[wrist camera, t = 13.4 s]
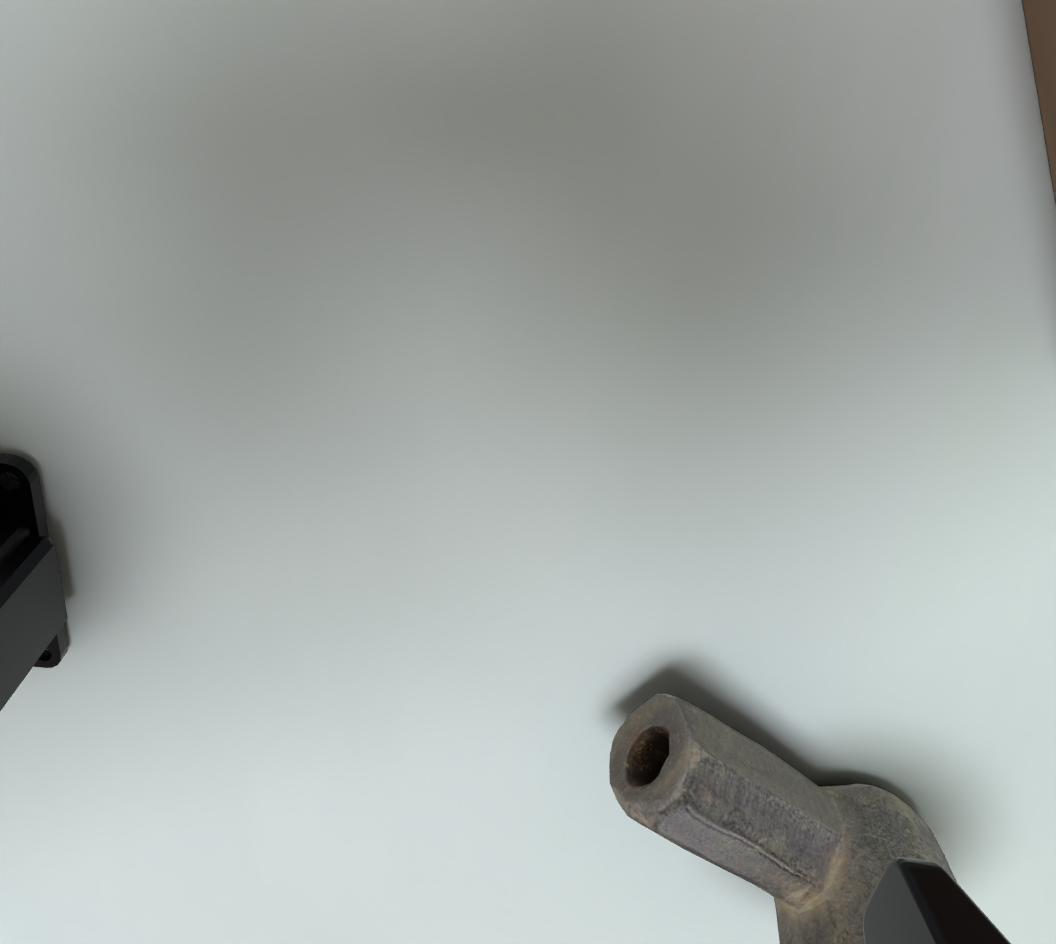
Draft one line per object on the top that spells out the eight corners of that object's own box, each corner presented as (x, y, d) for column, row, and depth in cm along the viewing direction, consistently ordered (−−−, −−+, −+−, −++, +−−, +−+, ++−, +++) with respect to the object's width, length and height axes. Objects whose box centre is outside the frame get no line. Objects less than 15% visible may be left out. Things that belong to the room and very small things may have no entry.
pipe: (710, 623, 24) (770, 899, 17) (1003, 835, 28) (1149, 1130, 21) (560, 745, 26) (560, 1028, 20) (849, 924, 30) (933, 1213, 23)
